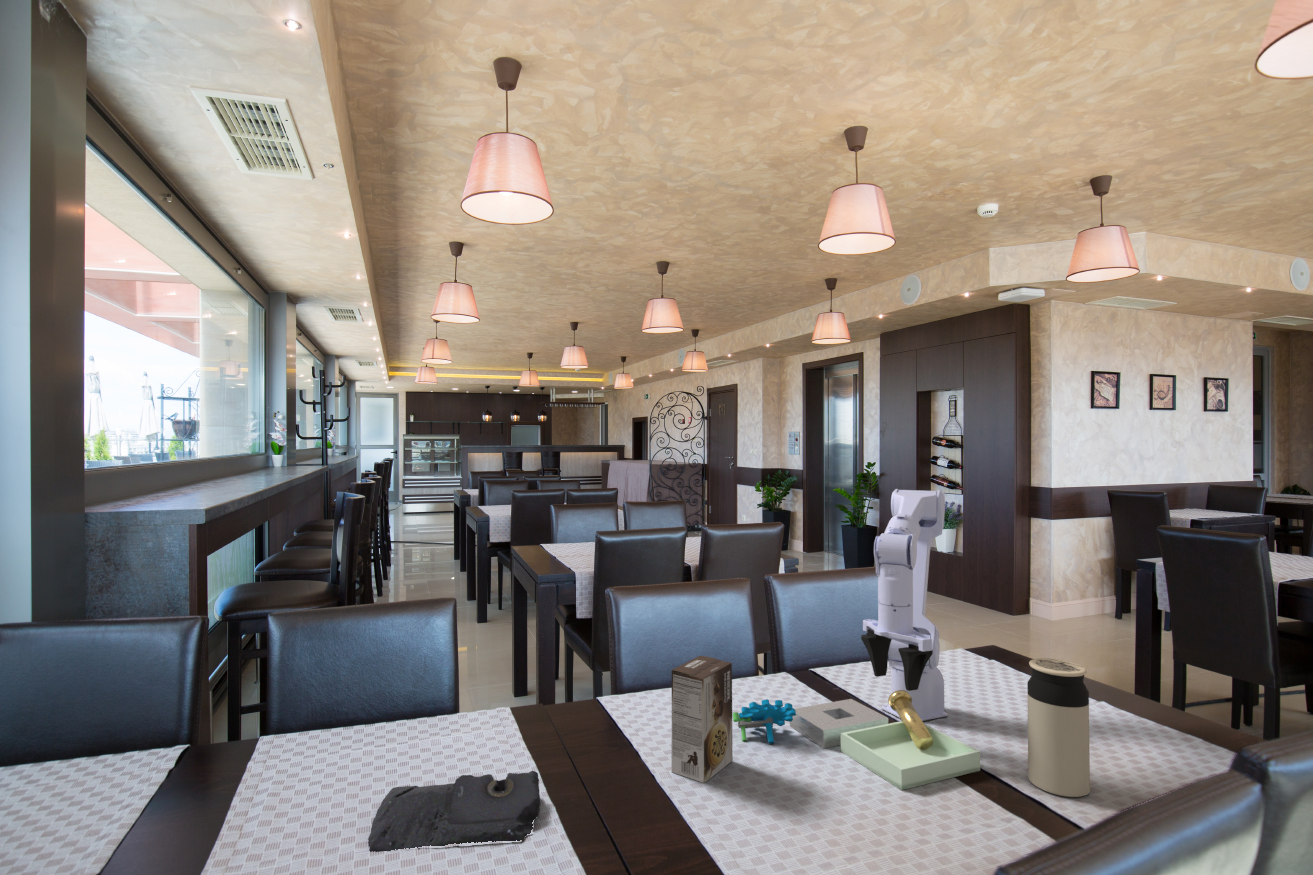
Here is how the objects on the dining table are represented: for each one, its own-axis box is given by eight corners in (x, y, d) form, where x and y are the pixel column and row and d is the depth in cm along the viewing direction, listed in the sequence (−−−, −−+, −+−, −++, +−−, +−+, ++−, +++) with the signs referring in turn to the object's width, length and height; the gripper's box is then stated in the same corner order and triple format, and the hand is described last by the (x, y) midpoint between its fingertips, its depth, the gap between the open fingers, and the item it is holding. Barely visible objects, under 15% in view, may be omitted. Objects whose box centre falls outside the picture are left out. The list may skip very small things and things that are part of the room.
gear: (796, 718, 122) (793, 693, 115) (801, 751, 117) (799, 727, 111) (735, 723, 123) (729, 698, 116) (738, 756, 119) (732, 733, 112)
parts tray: (914, 735, 118) (914, 718, 118) (980, 770, 105) (980, 751, 105) (840, 751, 112) (840, 733, 112) (901, 790, 99) (901, 769, 99)
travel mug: (1069, 804, 95) (1067, 677, 96) (1016, 779, 102) (1015, 661, 103) (1101, 791, 99) (1100, 669, 99) (1048, 768, 106) (1047, 654, 106)
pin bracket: (851, 714, 128) (851, 698, 128) (888, 734, 118) (888, 717, 119) (789, 725, 122) (789, 709, 122) (823, 748, 113) (823, 730, 113)
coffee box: (699, 751, 112) (700, 654, 112) (733, 761, 108) (734, 661, 108) (669, 772, 104) (669, 668, 105) (704, 784, 101) (704, 676, 101)
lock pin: (913, 735, 110) (888, 691, 119) (912, 753, 111) (887, 708, 121) (937, 732, 110) (910, 688, 119) (935, 749, 112) (909, 705, 121)
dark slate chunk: (390, 796, 98) (390, 763, 98) (542, 786, 101) (542, 754, 101) (358, 859, 83) (358, 820, 83) (538, 845, 86) (538, 808, 86)
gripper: (849, 596, 121) (849, 672, 120) (908, 614, 108) (908, 699, 107) (880, 593, 124) (880, 667, 123) (941, 610, 110) (941, 693, 110)
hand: (895, 682), depth 115 cm, fingers open, 7 cm apart
